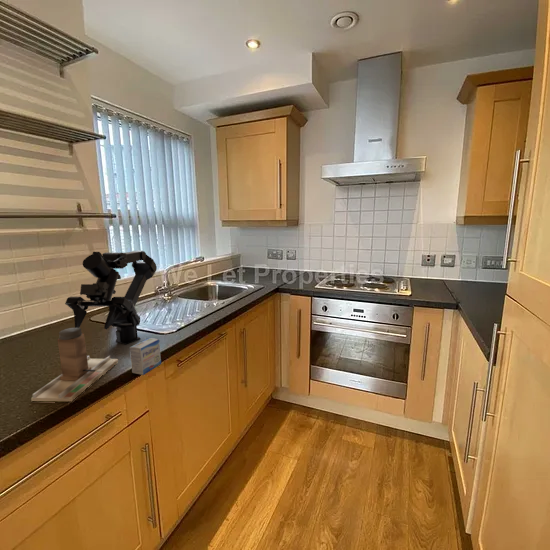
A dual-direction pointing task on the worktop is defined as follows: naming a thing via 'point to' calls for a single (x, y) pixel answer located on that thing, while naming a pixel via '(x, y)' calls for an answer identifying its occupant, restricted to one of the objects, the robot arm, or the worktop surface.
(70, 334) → the post
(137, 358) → the medicine box
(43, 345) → the worktop surface
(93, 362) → the scale board
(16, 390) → the worktop surface
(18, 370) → the worktop surface
